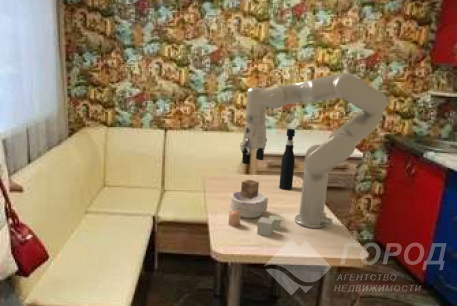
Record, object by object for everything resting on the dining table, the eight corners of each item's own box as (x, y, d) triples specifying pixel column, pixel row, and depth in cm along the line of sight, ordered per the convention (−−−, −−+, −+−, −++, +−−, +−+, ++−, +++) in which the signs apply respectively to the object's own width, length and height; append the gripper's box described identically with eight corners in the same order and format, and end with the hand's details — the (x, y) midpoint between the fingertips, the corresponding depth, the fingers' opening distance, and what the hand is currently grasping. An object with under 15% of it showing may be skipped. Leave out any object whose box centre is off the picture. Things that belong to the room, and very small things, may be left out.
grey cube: (273, 231, 158) (274, 219, 157) (270, 236, 154) (271, 224, 153) (260, 229, 160) (261, 217, 159) (257, 234, 155) (258, 221, 154)
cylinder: (242, 224, 163) (243, 212, 162) (235, 227, 160) (236, 215, 159) (233, 221, 166) (233, 209, 165) (226, 224, 162) (227, 212, 161)
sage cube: (278, 225, 164) (279, 216, 163) (279, 229, 161) (280, 220, 160) (268, 225, 165) (269, 215, 164) (269, 229, 161) (269, 219, 160)
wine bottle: (292, 190, 209) (298, 130, 202) (279, 189, 209) (285, 130, 202) (291, 186, 215) (296, 128, 208) (278, 185, 215) (283, 127, 208)
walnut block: (257, 196, 173) (258, 182, 172) (250, 198, 169) (252, 184, 168) (247, 193, 176) (248, 179, 175) (240, 195, 172) (241, 181, 171)
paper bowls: (246, 224, 164) (248, 205, 162) (222, 211, 175) (223, 193, 173) (274, 216, 174) (275, 198, 172) (249, 205, 185) (250, 188, 183)
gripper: (250, 122, 156) (248, 167, 160) (275, 118, 170) (272, 159, 174) (234, 120, 161) (232, 163, 165) (259, 116, 174) (257, 156, 178)
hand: (252, 161), depth 169 cm, fingers open, 9 cm apart
